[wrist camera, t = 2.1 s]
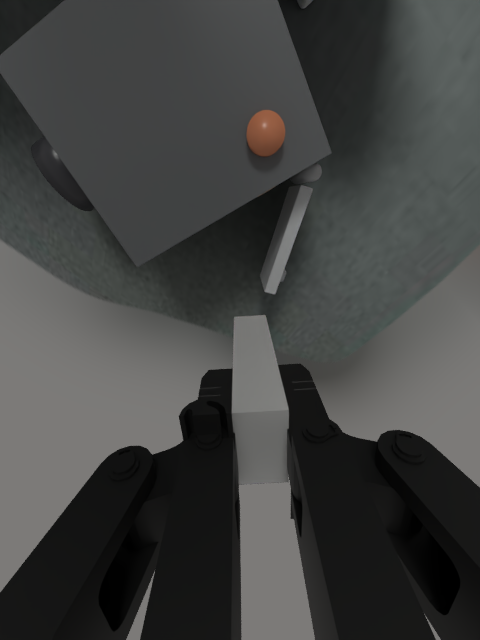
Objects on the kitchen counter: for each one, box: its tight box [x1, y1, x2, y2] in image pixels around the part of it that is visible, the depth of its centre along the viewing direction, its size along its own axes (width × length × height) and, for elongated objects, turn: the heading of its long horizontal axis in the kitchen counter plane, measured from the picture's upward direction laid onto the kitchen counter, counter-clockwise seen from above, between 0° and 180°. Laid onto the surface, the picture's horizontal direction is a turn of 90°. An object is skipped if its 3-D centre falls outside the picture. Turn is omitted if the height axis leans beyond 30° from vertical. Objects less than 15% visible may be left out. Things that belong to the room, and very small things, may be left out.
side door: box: [260, 185, 313, 294], centre depth 26 cm, size 9×2×6 cm, turn 164°
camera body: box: [0, 0, 332, 267], centre depth 22 cm, size 15×19×10 cm
